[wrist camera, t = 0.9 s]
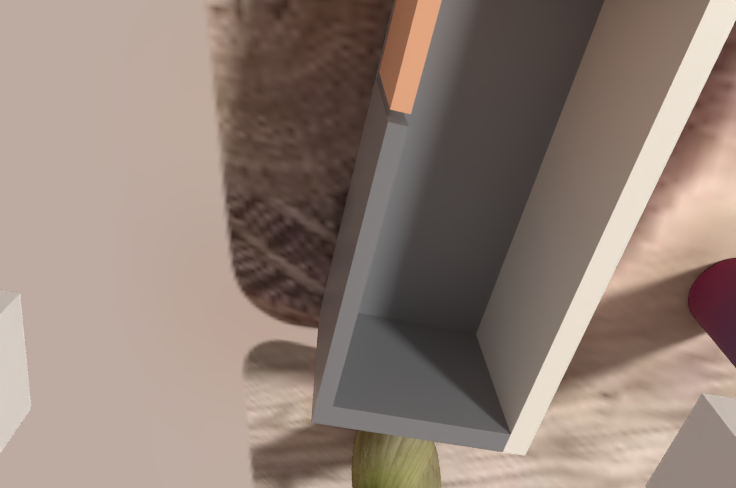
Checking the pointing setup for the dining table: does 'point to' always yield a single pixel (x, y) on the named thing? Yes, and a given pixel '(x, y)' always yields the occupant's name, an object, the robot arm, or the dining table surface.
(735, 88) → the dining table surface
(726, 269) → the cup
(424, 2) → the box door
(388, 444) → the fennel bulb
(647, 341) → the dining table surface
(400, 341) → the storage box
